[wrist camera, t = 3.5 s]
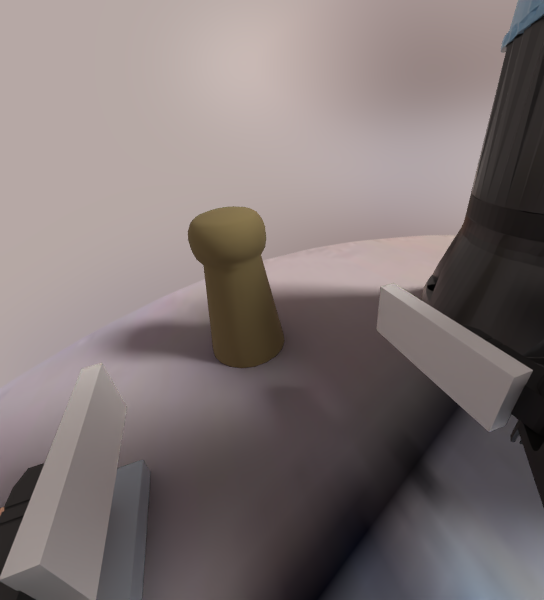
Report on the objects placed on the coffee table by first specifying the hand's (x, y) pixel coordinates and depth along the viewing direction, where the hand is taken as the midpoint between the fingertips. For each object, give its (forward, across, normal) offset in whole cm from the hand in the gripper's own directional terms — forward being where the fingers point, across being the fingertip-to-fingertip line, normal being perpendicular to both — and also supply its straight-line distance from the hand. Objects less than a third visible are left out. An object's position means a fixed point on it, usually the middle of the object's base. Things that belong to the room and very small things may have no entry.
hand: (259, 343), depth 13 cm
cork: (+8, 0, -7) cm, 11 cm away
